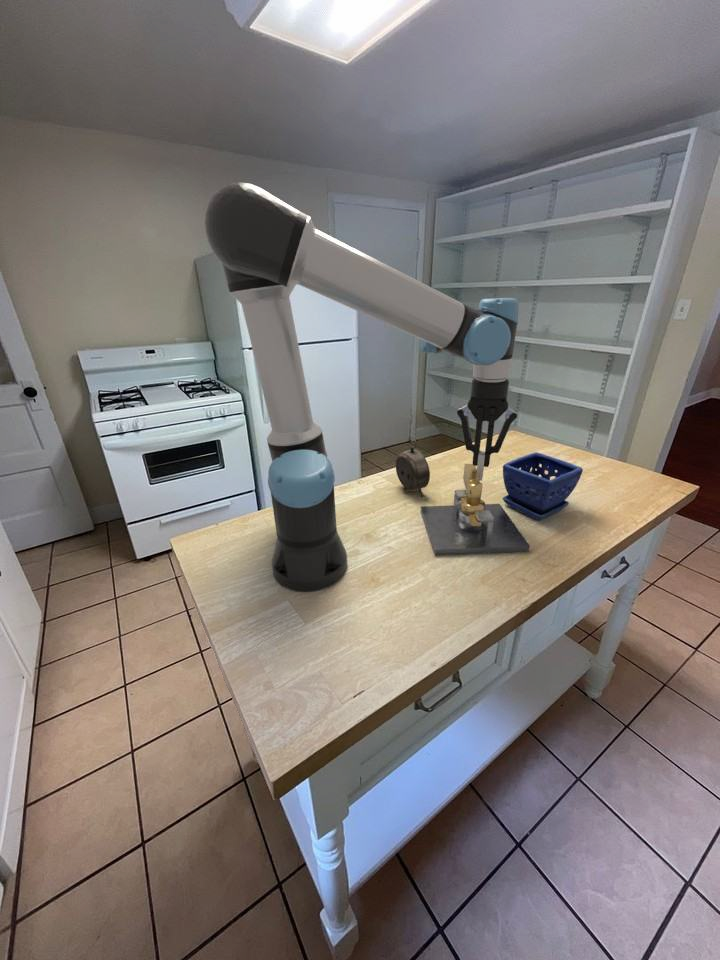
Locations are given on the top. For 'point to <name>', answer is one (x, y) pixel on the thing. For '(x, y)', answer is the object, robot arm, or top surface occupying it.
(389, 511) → the top surface
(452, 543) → the socket
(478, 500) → the lever handle
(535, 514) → the flower pot
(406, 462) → the alarm clock
